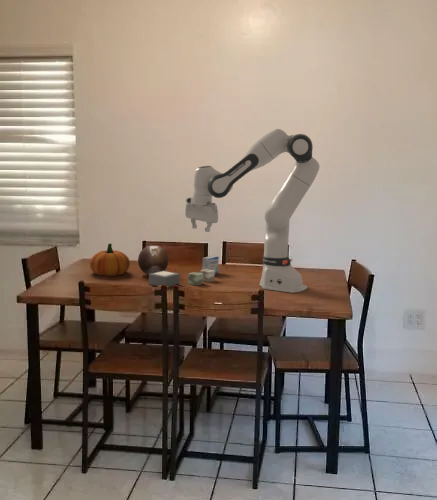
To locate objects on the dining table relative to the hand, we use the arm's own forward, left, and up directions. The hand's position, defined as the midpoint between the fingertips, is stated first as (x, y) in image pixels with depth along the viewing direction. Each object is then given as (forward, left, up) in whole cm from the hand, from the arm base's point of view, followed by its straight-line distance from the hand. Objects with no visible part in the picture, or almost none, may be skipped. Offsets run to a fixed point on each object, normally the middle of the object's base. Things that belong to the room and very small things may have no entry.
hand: (200, 230), depth 288 cm
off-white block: (-1, -5, -25) cm, 26 cm away
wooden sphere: (+26, +4, -25) cm, 37 cm away
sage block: (-1, +4, -25) cm, 26 cm away
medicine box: (+7, -18, -25) cm, 32 cm away
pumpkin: (+44, +16, -25) cm, 53 cm away
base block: (+9, +15, -25) cm, 31 cm away
